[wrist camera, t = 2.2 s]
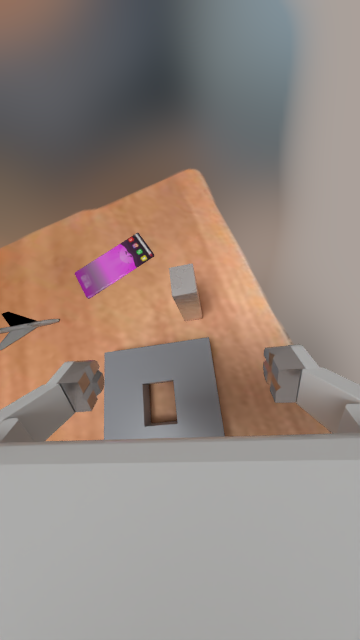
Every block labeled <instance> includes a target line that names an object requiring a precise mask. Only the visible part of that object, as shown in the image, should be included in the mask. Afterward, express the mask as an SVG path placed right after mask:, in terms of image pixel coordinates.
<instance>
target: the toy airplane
mask: <svg viewBox="0 0 360 640" xmlns="http://www.w3.org/2000/svg"><path fill="white" fill-rule="evenodd" d="M2 315H3V317H4V318H5V320H6V321H7V322H8V324H9V325H10V327H5V328H0V334H1V333H7V332H9V333H8V335H7V336H6V337H5V338H4V340H3V341H2V342H1V343H0V350H2V349H4V348H5V347H7V346H8V345H10V344H11V343H13V342H15V341H16V340H18V339H19V338H21V337H22V336H24V335H25V334H27V333H29V332H30V331H32V330H33V329H35V328H36V327H39V326H45V325H49V324H53V323H56V322H59V320H60V319H49V320H43V321H35V320H32V319H29V318H26V317H23V316H20V315H16V314H13V313H10V312H6V313H3V314H2Z"/></svg>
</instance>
